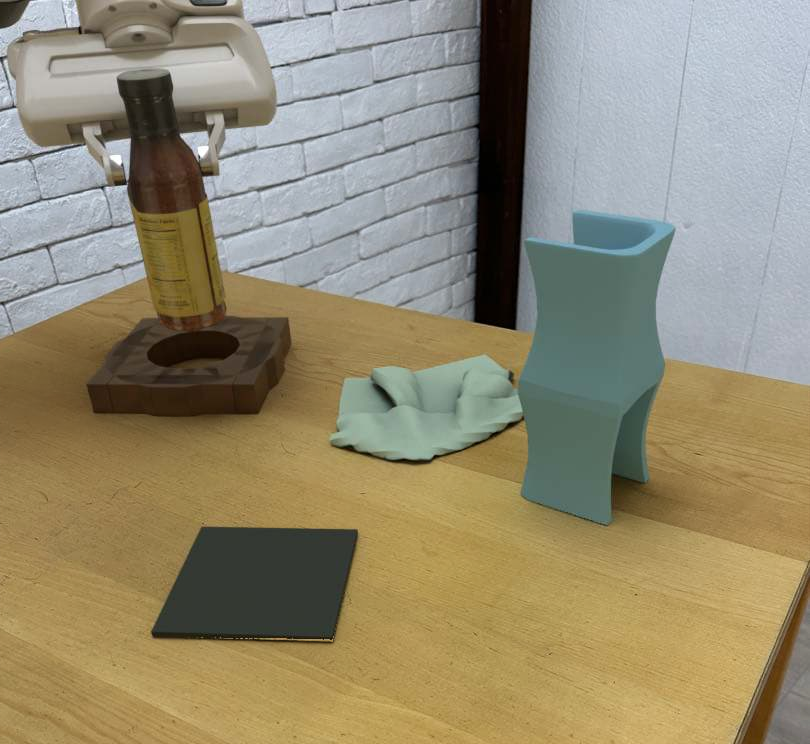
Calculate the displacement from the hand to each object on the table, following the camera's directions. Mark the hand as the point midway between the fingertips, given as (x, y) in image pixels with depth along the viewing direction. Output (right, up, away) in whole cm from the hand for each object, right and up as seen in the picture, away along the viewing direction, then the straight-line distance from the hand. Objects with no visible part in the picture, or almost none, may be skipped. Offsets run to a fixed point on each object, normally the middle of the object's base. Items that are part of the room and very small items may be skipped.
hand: (164, 177), depth 72 cm
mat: (+9, -32, -9) cm, 34 cm away
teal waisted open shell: (+33, -25, 0) cm, 42 cm away
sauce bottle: (0, -10, +8) cm, 13 cm away
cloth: (+23, -17, +12) cm, 30 cm away
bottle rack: (-2, -12, +19) cm, 23 cm away
